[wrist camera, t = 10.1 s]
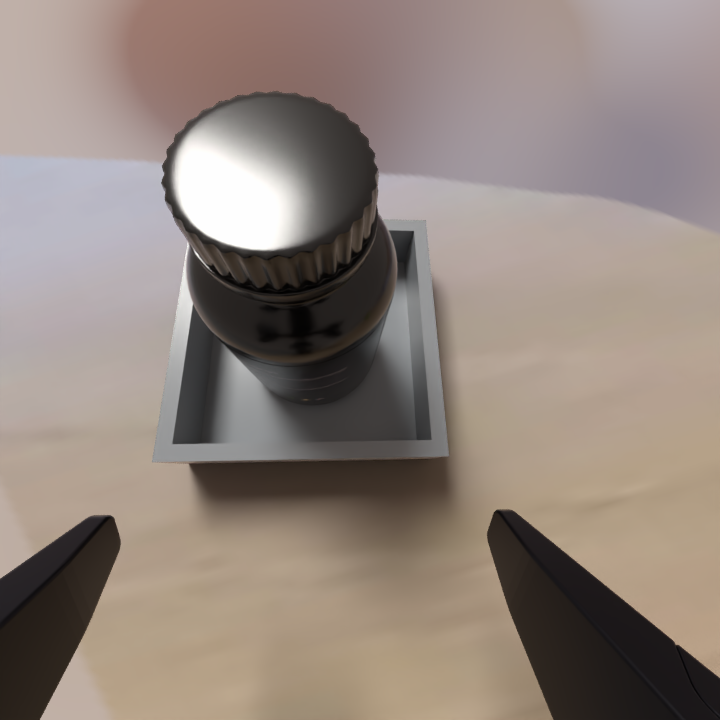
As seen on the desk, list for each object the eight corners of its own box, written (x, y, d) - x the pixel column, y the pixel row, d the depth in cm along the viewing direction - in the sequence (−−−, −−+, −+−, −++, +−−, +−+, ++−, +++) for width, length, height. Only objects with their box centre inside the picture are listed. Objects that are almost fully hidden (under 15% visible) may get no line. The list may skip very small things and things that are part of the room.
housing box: (428, 458, 18) (449, 456, 15) (188, 463, 17) (151, 461, 14) (412, 258, 22) (425, 220, 18) (215, 255, 21) (192, 214, 18)
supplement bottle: (258, 291, 20) (146, 45, 8) (374, 296, 20) (421, 66, 9) (243, 408, 18) (67, 292, 6) (374, 411, 18) (437, 307, 6)
